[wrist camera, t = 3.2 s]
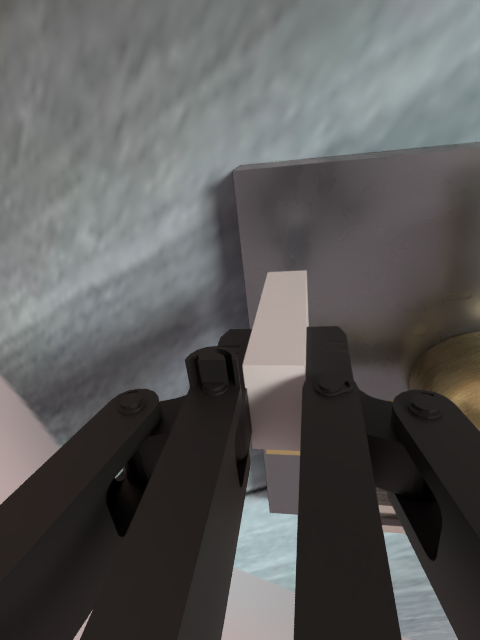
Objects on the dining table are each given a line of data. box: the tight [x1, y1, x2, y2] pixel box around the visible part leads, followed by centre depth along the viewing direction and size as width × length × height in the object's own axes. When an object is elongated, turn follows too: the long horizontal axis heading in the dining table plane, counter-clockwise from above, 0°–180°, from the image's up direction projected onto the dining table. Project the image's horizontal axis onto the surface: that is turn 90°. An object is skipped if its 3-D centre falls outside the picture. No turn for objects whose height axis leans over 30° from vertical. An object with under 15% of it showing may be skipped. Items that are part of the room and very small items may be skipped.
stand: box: [233, 142, 480, 534], centre depth 20 cm, size 22×22×4 cm
